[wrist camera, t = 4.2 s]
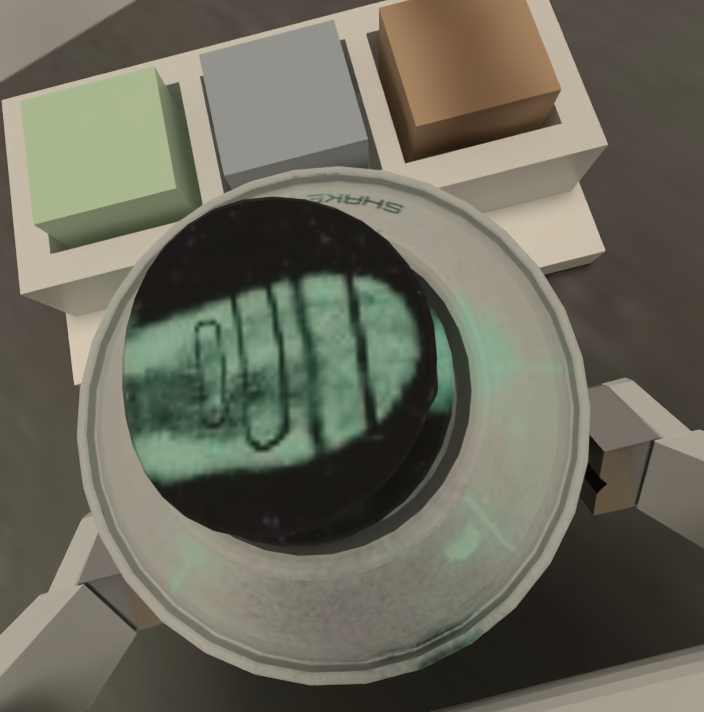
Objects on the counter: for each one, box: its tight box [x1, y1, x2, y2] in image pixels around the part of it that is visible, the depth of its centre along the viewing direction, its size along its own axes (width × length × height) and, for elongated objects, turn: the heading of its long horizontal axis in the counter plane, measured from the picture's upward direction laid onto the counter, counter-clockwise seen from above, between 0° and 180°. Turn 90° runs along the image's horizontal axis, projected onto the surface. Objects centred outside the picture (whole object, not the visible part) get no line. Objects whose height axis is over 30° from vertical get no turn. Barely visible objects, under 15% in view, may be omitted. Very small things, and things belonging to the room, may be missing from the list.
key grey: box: [199, 20, 369, 190], centre depth 20 cm, size 6×6×4 cm
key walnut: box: [379, 0, 561, 164], centre depth 20 cm, size 6×6×4 cm
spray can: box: [77, 166, 590, 685], centre depth 12 cm, size 6×6×20 cm
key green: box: [20, 66, 203, 249], centre depth 20 cm, size 6×6×4 cm
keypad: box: [2, 0, 608, 386], centre depth 22 cm, size 27×14×5 cm, turn 104°
